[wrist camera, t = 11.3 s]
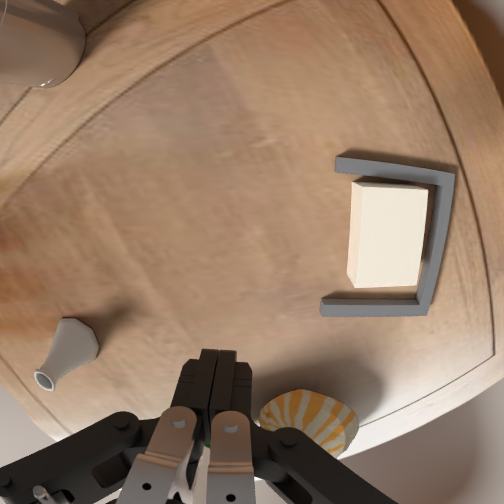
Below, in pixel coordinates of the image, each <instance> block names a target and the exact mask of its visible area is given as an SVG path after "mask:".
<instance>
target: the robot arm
mask: <svg viewBox="0 0 504 504" xmlns="http://www.w3.org/2000/svg"><path fill="white" fill-rule="evenodd" d="M79 16H80V15H79V14H78V13H76V12H74V11H72V10H71V9H69V8H67V7H65V6H63V5H61V4H59V3H57V2H56V1H54V0H0V83H6V84H16V85H25V86H30V87H41V88H50V87H53V86H56V85H58V84H60V83H61V82H63V81H64V80H65V79H66V78H67V77H68V76H70V74H71V73H72V72H73V71H74V70H75V68H76V66H77V65H78V63H79V61H80V59H81V57H82V55H83V51H84V48H85V41H86V38H85V31H84V29H83V27H82V25H81V24H80V22H79ZM251 388H252V369H251V368H250V366H249V364H248V363H246V362H237V352H236V351H233V350H220V351H219V350H215V349H202V351H201V355H200V358H199V360H197V359H189V360H188V361H187V362H186V363H185V364H184V365H183V367H182V371H181V374H180V377H179V380H178V383H177V387H176V390H175V393H174V396H173V400H172V403H171V406H170V408H168V409H167V410H165V411H164V412H163V413H162V415H161V417H158V418H155V419H148V420H139V419H138V418H137V416H135V415H134V414H132V413H130V412H125V411H121V412H116V413H114V414H112V415H110V416H108V417H106V418H104V419H102V420H100V421H98V422H96V423H94V424H93V425H91V426H89V427H87V428H85V429H83V430H81V431H79V432H77V433H75V434H73V435H71V436H69V437H67V438H65V439H63V440H61V441H58V442H56V443H54V444H52V445H51V446H48V447H46V448H44V449H42V450H39V451H37V452H35V453H33V454H31V455H29V456H26V457H24V458H22V459H20V460H18V461H15V462H13V463H10V464H8V465H6V466H3V467H1V468H0V497H1V498H2V499H3V500H4V501H5V503H6V504H93V503H95V502H97V501H99V500H101V499H103V498H104V497H106V496H108V495H109V494H112V493H113V492H115V491H117V490H119V489H120V488H122V487H123V488H122V490H121V492H120V495H119V497H118V498H117V499H114V500H112V501H110V502H108V503H106V504H193V493H194V489H195V485H196V481H197V478H198V474H199V470H200V467H201V463H202V459H203V456H202V454H203V449H204V444H210V463H209V465H208V471H207V491H206V504H256V499H255V483H254V477H258V478H261V479H264V480H265V481H266V483H267V484H268V485H269V486H270V487H271V488H272V489H273V490H274V491H275V492H276V493H277V494H278V495H279V496H280V497H281V498H282V499H283V500H284V501H286V503H287V504H398V503H397V502H395V501H394V500H392V499H391V498H389V497H388V496H386V495H385V494H383V493H382V492H380V491H379V490H378V489H376V488H375V487H373V486H372V485H371V484H369V483H368V482H366V481H365V480H364V479H362V478H361V477H359V476H358V475H357V474H355V473H354V472H353V471H351V470H350V469H349V468H347V467H346V466H345V465H343V464H342V463H341V462H340V461H338V460H337V459H336V458H334V457H333V456H332V455H331V454H329V453H328V452H327V451H326V450H324V449H323V448H322V447H321V446H319V445H318V444H317V443H316V442H314V441H313V440H312V439H311V438H310V437H308V436H307V435H306V434H305V433H304V432H302V431H301V430H299V429H297V428H293V427H283V428H279V429H277V430H275V431H274V432H273V431H270V430H266V429H263V428H261V427H259V426H258V425H256V424H255V423H254V422H253V420H252V418H251V415H250V411H251Z"/></svg>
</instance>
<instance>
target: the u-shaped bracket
mask: <svg viewBox="0 0 504 504" xmlns="http://www.w3.org/2000/svg"><path fill="white" fill-rule="evenodd" d="M335 172H337V173H346V174H356V175H366V176H375V177H383V178H392V179H399V180H407V181H414V182H421V183H428V184H435V185H436V192H435V200H434V207H433V214H432V220H431V226H430V232H429V238H428V243H427V248H426V253H425V258H424V263H423V268H422V272H421V277H420V281H419V285H418V289H417V293H416V297H415V299H330V298H321V304H320V313H321V316H322V317H398V316H427V314H428V310H429V307H430V303H431V300H432V296H433V292H434V288H435V284H436V280H437V276H438V272H439V268H440V264H441V259H442V254H443V250H444V245H445V240H446V234H447V229H448V223H449V217H450V211H451V204H452V197H453V189H454V181H455V174H453V173H449V172H444V171H438V170H433V169H427V168H421V167H414V166H408V165H401V164H394V163H387V162H379V161H371V160H363V159H354V158H345V157H336V159H335Z"/></svg>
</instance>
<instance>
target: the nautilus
mask: <svg viewBox="0 0 504 504" xmlns="http://www.w3.org/2000/svg"><path fill="white" fill-rule="evenodd" d="M259 423H260V425H261V426H260V427H261V428H263V429H266V430H270V431H273V432H274V431H275V430H277V429H279V428H283V427H293V428H297V429H299V430H301V431H302V432H304V433H305V434H306V435H307V436H308V437H310V438H311V439H312V440H313V441H314V442H316V443H317V444H318V445H319V446H321V447H322V448H323V449H324V450H326V451H327V452H328V453H329V454H331V455H332V456H333V457H334V458H337V457H338V456H339V455H340V454H342V453H343V452H344V451H346V450H347V448H348V447H349V445H350V443H351V442H352V440H353V439H354V438H355V436H356V434H357V432H358V430H359V422H358V419H357V416H356V414H355V413H354V411H353V410H351V409H350V408H349V407H348V406H347V405H345V404H343V403H341V402H339V401H337V400H335V399H333V398H332V397H329V396H325V395H322V394H319V393H316V392H313V391H309V390H304V389H298V390H294V391H290V392H287V393H284V394H281V395H279V396H278V397H276V398H274V399H272V400H271V401H270V402H268V403H267V404H266V405H265V406H264V407H263V408H262V409H261V411H260V416H259Z"/></svg>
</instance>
